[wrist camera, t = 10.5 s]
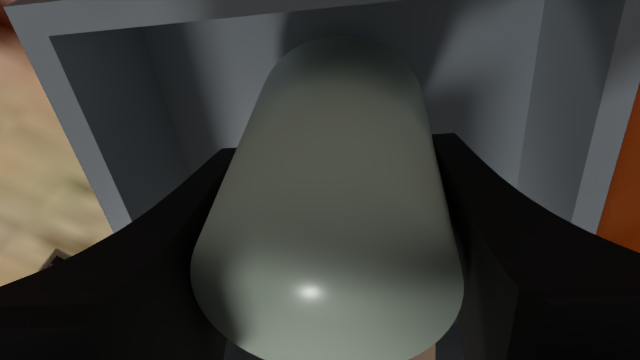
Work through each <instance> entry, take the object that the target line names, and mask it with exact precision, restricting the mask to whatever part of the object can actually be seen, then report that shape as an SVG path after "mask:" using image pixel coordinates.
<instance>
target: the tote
mask: <svg viewBox="0 0 640 360" xmlns="http://www.w3.org/2000/svg"><path fill="white" fill-rule="evenodd" d="M4 9H5V11H6V13H7V15H8V17H9V19H10V21H11V23H12V25H13V28H14V30H15V32H16V34H17V36H18V38H19V40H20V42H21V44H22V46H23V48H24V50H25V52H26V54H27V56H28V58H29V60H30V62H31V64H32V66H33V68H34V70H35V73H36V75H37V77H38V79H39V81H40V83H41V85H42V87H43V89H44V91H45V93H46V95H47V97H48V99H49V101H50V103H51V105H52V107H53V109H54V111H55V113H56V116H57V118H58V120H59V122H60V124H61V126H62V128H63V130H64V132H65V134H66V136H67V138H68V140H69V142H70V144H71V146H72V148H73V150H74V152H75V154H76V156H77V159H78V161H79V163H80V165H81V167H82V169H83V171H84V173H85V175H86V177H87V179H88V181H89V183H90V185H91V187H92V189H93V191H94V193H95V195H96V197H97V199H98V202H99V204H100V206H101V208H102V210H103V212H104V214H105V216H106V218H107V220H108V222H109V224H110V226H111V228H112V230H113V232H114V233H115V232H117V231H119V230H120V229H122V228H123V227H125V226H126V225H128V224H129V223H131V222H133V221H134V220H136V219H137V218H138V217H140V216H141V215H143V214H144V213H146V212H147V211H148V210H150V209H151V208H152V207H153V206H155V205H156V204H157V203H158V202H160V201H161V200H162V199H163V198H165V197H166V196H167V195H168V194H170V193H171V192H172V191H173V190H175V189H176V188H177V187H178V186H179V185H181V184H182V183H183V182H184V181H185V180H186V179H187V178H189V177H190V176H191V175H192V174H193V173H194V172H195V171H196V170H198V169H199V168H200V167H201V166H202V165H203V164H204V163H205V162H206V161H208V160H209V159H210V158H211V157H212V156H213V155H214V154H216V153H217V152H218V151H219V150H221V149H222V148H236V147H238V144H239V142H240V139H241V137H242V135H243V132H244V130H245V128H246V125H247V123H248V121H249V118H250V116H251V114H252V111H253V109H254V107H255V104H256V102H257V99H258V97H259V95H260V92H261V90H262V88H263V85H264V83H265V81H266V79H267V77H268V75H269V73H270V72H271V70H272V69H273V68H274V66H275V65H276V64H277V63H278V62H279V61H280V59H281V58H282V57H283V56H285V55H286V54H287V53H289V52H290V51H291V50H293V49H294V48H296V47H298V46H299V45H301V44H303V43H306V42H308V41H311V40H314V39H317V38H321V37H327V36H334V35H348V36H355V37H361V38H365V39H368V40H372V41H374V42H376V43H379V44H381V45H383V46H385V47H386V48H388V49H390V50H391V51H393V52H394V53H395V54H397V55H398V56H399V57H400V58H401V59H402V60H403V61H404V62H405V63H406V64H407V65H408V66H409V67H410V69H411V70H412V72H413V73H414V74H415V76H416V78H417V80H418V82H419V84H420V87H421V90H422V93H423V97H424V102H425V106H426V111H427V115H428V120H429V124H430V129H431V133H432V134H444V133H455V134H456V135H458V136H459V137H460V138H461V139H462V140H463V141H464V142H465V143H466V144H467V145H468V146H469V147H470V148H471V150H472V151H474V152H475V153H476V154H477V155H478V156H479V157H480V158H481V159H482V160H483V161H484V162H485V163H486V164H487V165H488V166H489V167H490V168H492V169H493V170H494V171H495V172H496V173H497V174H498V175H499V176H501V177H502V178H503V179H504V180H506V181H507V182H508V183H509V184H511V185H512V186H513V187H515V188H516V189H517V190H519V191H520V192H521V193H523V194H524V195H526V196H527V197H529V198H530V199H531V200H533V201H535V202H536V203H538V204H539V205H541V206H543V207H544V208H546V209H547V210H549V211H551V212H552V213H554V214H556V215H558V216H559V217H561V218H563V219H565V220H567V221H569V222H571V223H573V224H575V225H576V226H578V227H580V228H582V229H584V230H586V231H588V232H590V233H593V234H595V235H596V231H597V228H598V224H599V221H600V217H601V214H602V210H603V207H604V203H605V200H606V197H607V193H608V190H609V186H610V183H611V179H612V176H613V172H614V169H615V165H616V162H617V159H618V155H619V152H620V148H621V145H622V141H623V138H624V134H625V131H626V127H627V124H628V120H629V117H630V114H631V110H632V107H633V103H634V100H635V96H636V93H637V89H638V86H639V82H640V0H17V1H15V2H13V3H11V4H8V5H6V6H4ZM224 360H264V359H262V358H259V357H257V356H255V355H253V354H251V353H249V352H247V351H246V350H244V349H242V348H241V347H239V346H237V345H236V344H234V343H233V342H232V341H230V340H229V339H228V338H227V342H226V348H225V354H224ZM435 360H464V357H463V351H462V345H461V338H460V332H459V326H458V320H457V317H456V319H455V321H454V322H453V324H452V325H451V327H450V329H449V330H448V331H447V332H446V333H445V334H444V335H443V336H442V338H441V339H439V340H438V341H437V342H436V344H435Z"/></svg>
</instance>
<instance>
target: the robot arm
mask: <svg viewBox="0 0 640 360" xmlns="http://www.w3.org/2000/svg"><path fill="white" fill-rule="evenodd" d="M432 139H433V143H434V148H435V152H436V156H437V160H438V165H439V169H440V174H441V178H442V183H443V187H444V192H445V196H446V201H447V205H448V210H449V214H450V219H451V223H452V228H453V232H454V237H455V241H456V246H457V250H458V255H459V260H460V264H461V269H462V274H463V280H464V295H463V300H462V304H461V308H460V310H459V313H458V315H457V320H458V326H459V332H460V338H461V345H462V351H463V357H464V360H640V253H638V252H635V251H633V250H630V249H628V248H625V247H623V246H620V245H618V244H616V243H613V242H611V241H608V240H606V239H604V238H601V237H599V236H597V235H595V234H593V233H590V232H588V231H586V230H584V229H582V228H580V227H578V226H576V225H575V224H573V223H571V222H569V221H567V220H565V219H563V218H561V217H559V216H558V215H556V214H554V213H552V212H551V211H549V210H547V209H546V208H544V207H543V206H541V205H539V204H538V203H536V202H535V201H533V200H531V199H530V198H529V197H527V196H526V195H524V194H523V193H521V192H520V191H519V190H517V189H516V188H515V187H513V186H512V185H511V184H509V183H508V182H507V181H506V180H504V179H503V178H502V177H501V176H499V175H498V174H497V173H496V172H495V171H494V170H493V169H492V168H490V167H489V166H488V165H487V164H486V163H485V162H484V161H483V160H482V159H481V158H480V157H479V156H478V155H477V154H476V153H475V152H474V151H472V150H471V148H470V147H469V146H468V145H467V144H466V143H465V142H464V141H463V140H462V139H461V138H460V137H459V136H458V135H456V134H455V133H444V134H432ZM236 149H237V147H236V148H222V149H221V150H219V151H218V152H217V153H216V154H214V155H213V156H212V157H211V158H210V159H209V160H208V161H206V162H205V163H204V164H203V165H202V166H201V167H200V168H199V169H198V170H196V171H195V172H194V173H193V174H192V175H191V176H190V177H189V178H187V179H186V180H185V181H184V182H183V183H182V184H181V185H179V186H178V187H177V188H176V189H175V190H173V191H172V192H171V193H170V194H168V195H167V196H166V197H165V198H163V199H162V200H161V201H160V202H158V203H157V204H156V205H155V206H153V207H152V208H151V209H150V210H148V211H147V212H146V213H144V214H143V215H141V216H140V217H138V218H137V219H136V220H134V221H133V222H131V223H129V224H128V225H126V226H125V227H123V228H122V229H120V230H119V231H117V232H115V233H114V234H112V235H110V236H108V237H107V238H105V239H103V240H101V241H100V242H98V243H96V244H94V245H92V246H91V247H89V248H87V249H85V250H84V251H82V252H80V253H78V254H76V255H74V256H72V257H69V258H67V259H65V260H63V261H61V262H59V263H57V264H55V265H52V266H50V267H48V268H46V269H44V270H41V271H39V272H37V273H34V274H32V275H29V276H27V277H24V278H22V279H19V280H16V281H14V282H11V283H9V284H6V285H3V286H1V287H0V360H224V354H225V348H226V342H227V338H226V337H225V336H224V335H223V334H222V333H221V332H219V331H218V330H217V329H216V328H215V327H214V326H213V325H212V323H211V322H210V321H209V320H208V319H207V317H206V316H205V314H204V313H203V311H202V310H201V308H200V307H199V305H198V302H197V300H196V298H195V296H194V293H193V289H192V285H191V278H190V266H191V258H192V254H193V251H194V248H195V245H196V243H197V241H198V238H199V236H200V234H201V231H202V229H203V226H204V224H205V222H206V219H207V217H208V215H209V212H210V210H211V208H212V205H213V203H214V201H215V198H216V196H217V194H218V191H219V189H220V186H221V184H222V182H223V179H224V177H225V175H226V172H227V170H228V168H229V165H230V163H231V161H232V158H233V156H234V154H235V151H236Z"/></svg>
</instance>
